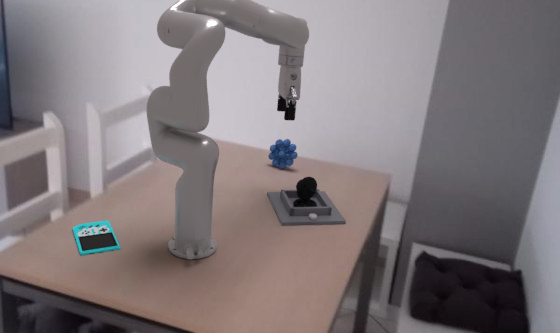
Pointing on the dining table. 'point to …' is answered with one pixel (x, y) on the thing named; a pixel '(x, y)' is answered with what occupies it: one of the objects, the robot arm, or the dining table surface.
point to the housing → (304, 209)
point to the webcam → (306, 192)
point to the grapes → (283, 153)
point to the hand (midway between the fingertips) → (285, 115)
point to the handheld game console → (95, 237)
